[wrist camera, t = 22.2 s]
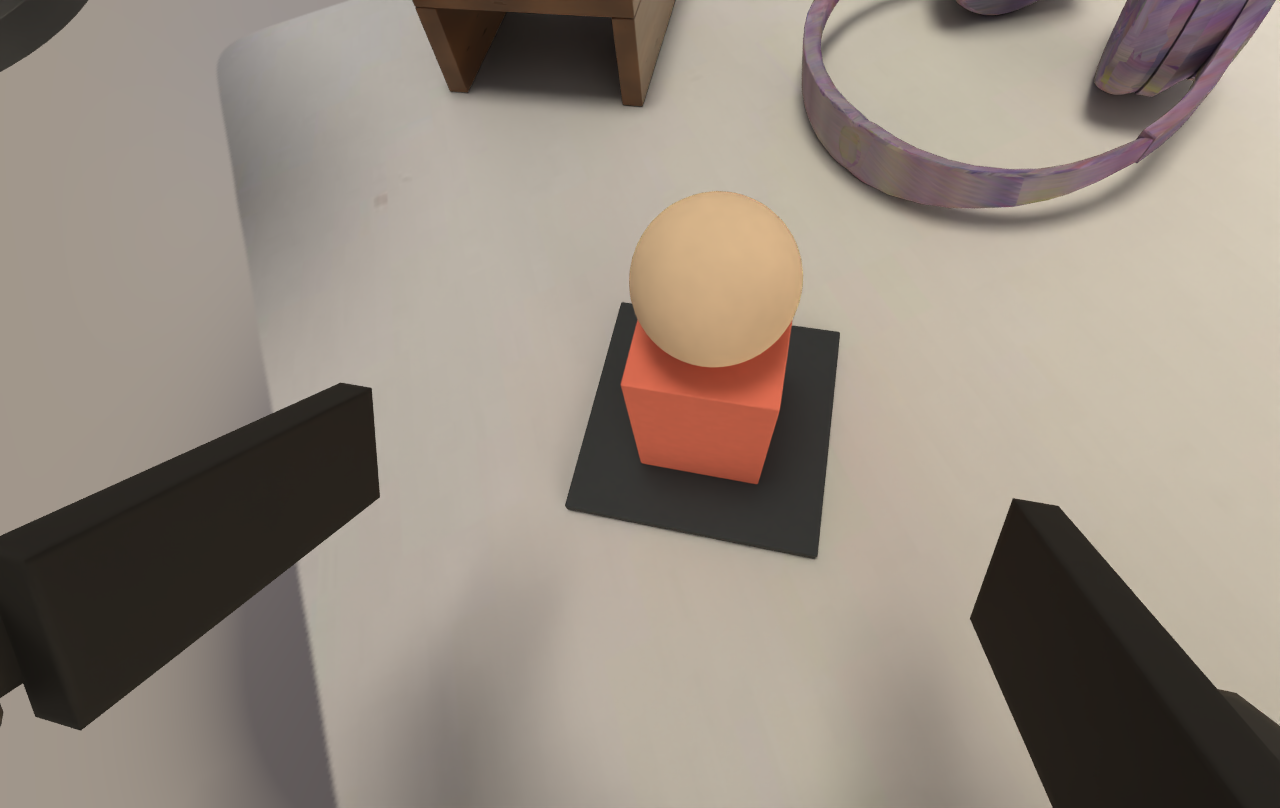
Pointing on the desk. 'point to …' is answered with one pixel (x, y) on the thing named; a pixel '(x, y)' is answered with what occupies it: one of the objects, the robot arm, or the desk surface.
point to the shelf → (476, 4)
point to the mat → (707, 504)
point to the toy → (710, 334)
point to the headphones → (1132, 62)
